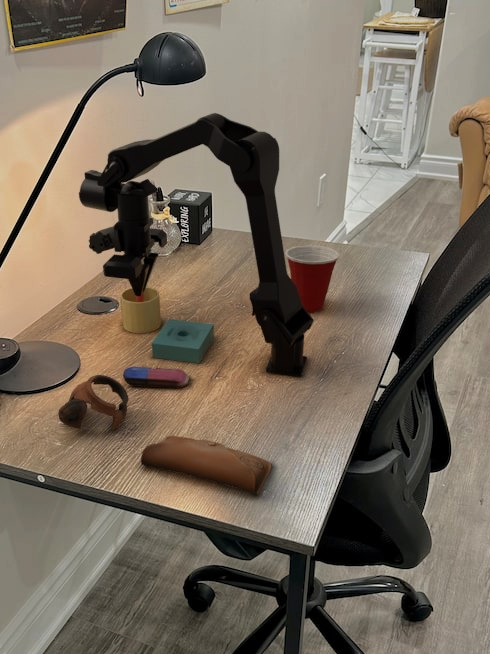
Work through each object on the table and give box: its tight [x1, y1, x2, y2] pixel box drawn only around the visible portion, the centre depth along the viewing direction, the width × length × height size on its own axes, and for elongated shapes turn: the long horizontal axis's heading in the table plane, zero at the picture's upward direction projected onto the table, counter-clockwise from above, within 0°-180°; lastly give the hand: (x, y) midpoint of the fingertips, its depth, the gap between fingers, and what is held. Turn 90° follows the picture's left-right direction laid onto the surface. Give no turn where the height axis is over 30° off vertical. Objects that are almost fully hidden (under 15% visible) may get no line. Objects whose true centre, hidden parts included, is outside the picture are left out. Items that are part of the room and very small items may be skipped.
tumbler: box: [119, 286, 162, 334], centre depth 142 cm, size 8×8×6 cm
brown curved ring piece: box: [57, 374, 129, 430], centre depth 114 cm, size 12×10×8 cm
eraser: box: [122, 366, 190, 389], centre depth 125 cm, size 11×4×2 cm, turn 85°
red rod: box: [136, 291, 144, 302], centre depth 140 cm, size 1×1×9 cm
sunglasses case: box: [140, 435, 273, 495], centre depth 105 cm, size 18×7×7 cm
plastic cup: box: [284, 245, 341, 314], centre depth 146 cm, size 11×11×12 cm
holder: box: [151, 318, 215, 364], centre depth 135 cm, size 10×9×3 cm
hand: (139, 293), depth 140 cm, fingers closed on red rod, 1 cm apart
